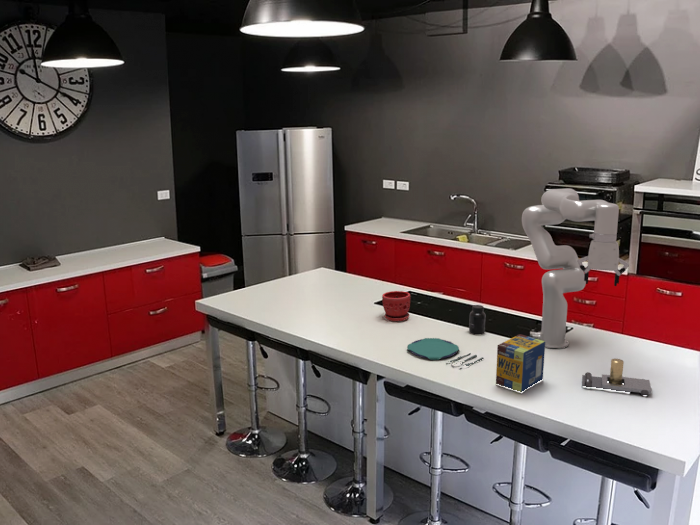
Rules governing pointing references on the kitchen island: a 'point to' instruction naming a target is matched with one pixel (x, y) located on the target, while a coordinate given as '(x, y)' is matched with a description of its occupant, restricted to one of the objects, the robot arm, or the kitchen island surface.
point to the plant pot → (396, 305)
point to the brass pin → (616, 371)
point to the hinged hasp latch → (629, 384)
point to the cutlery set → (436, 349)
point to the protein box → (520, 362)
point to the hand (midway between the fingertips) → (601, 284)
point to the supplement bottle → (477, 320)
